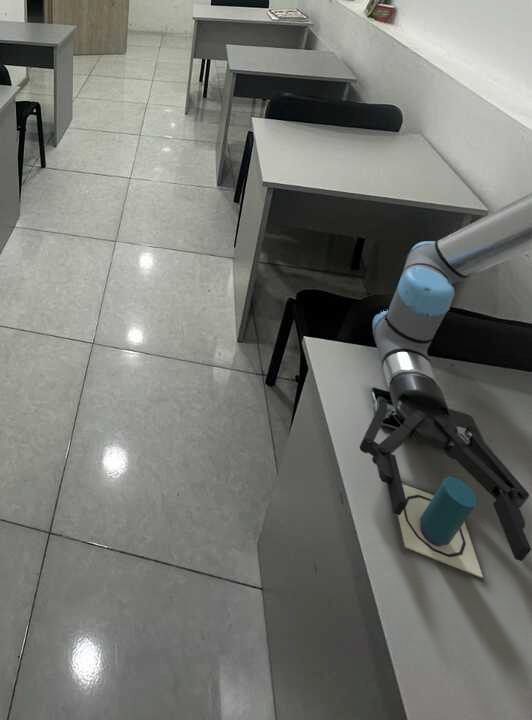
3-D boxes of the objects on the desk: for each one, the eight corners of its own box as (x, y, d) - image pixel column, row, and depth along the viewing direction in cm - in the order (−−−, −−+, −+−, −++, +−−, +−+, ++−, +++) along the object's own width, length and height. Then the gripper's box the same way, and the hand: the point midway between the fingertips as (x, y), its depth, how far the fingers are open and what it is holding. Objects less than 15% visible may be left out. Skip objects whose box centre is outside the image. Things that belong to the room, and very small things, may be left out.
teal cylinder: (442, 525, 68) (470, 483, 64) (451, 555, 65) (481, 512, 61) (413, 514, 69) (439, 472, 65) (420, 543, 66) (448, 500, 62)
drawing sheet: (458, 505, 71) (459, 504, 70) (482, 578, 63) (483, 577, 63) (389, 480, 73) (390, 479, 73) (404, 547, 65) (405, 546, 65)
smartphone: (370, 385, 87) (472, 414, 83) (368, 389, 87) (470, 418, 83) (380, 422, 81) (491, 456, 76) (378, 426, 81) (489, 460, 77)
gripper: (492, 432, 78) (564, 591, 59) (327, 379, 85) (345, 506, 66) (512, 401, 75) (594, 558, 56) (339, 349, 82) (361, 473, 63)
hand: (459, 530), depth 61 cm, fingers open, 13 cm apart
